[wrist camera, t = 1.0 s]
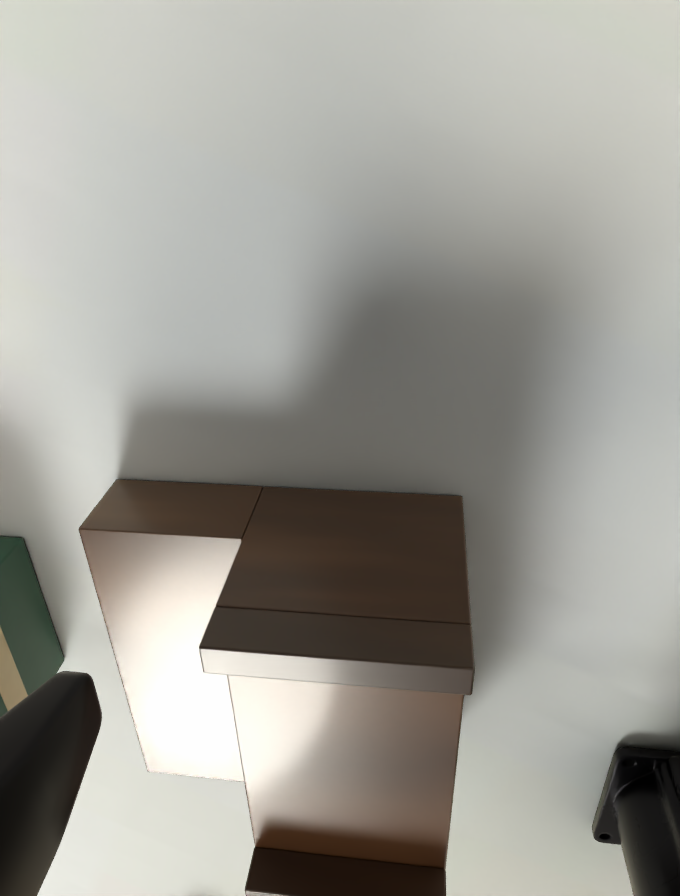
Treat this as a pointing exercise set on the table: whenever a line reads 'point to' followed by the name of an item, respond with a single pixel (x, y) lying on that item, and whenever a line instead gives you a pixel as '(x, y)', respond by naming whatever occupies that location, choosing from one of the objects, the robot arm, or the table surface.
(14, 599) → the tea packet
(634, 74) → the table surface
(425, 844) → the step shelf
